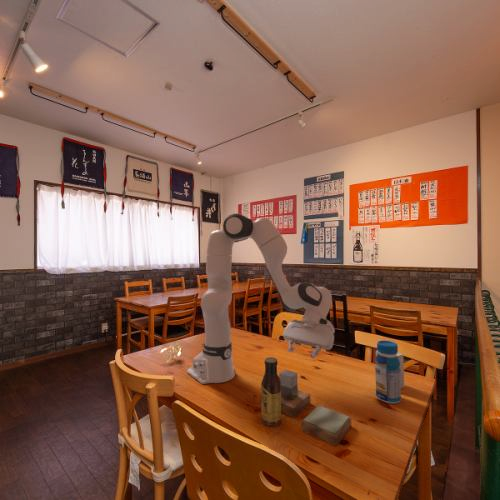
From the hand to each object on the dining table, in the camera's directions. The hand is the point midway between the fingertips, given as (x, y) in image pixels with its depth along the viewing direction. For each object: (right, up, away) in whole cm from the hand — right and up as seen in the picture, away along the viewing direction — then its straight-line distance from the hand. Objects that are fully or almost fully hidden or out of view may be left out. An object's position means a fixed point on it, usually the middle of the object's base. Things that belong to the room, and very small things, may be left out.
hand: (300, 354), depth 104 cm
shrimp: (-58, -16, +34) cm, 69 cm away
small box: (+37, -15, +6) cm, 40 cm away
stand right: (+4, -15, -21) cm, 26 cm away
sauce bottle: (-13, -15, -17) cm, 26 cm away
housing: (-6, -12, -7) cm, 15 cm away
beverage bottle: (+31, -15, -4) cm, 35 cm away
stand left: (-6, -15, -7) cm, 18 cm away
